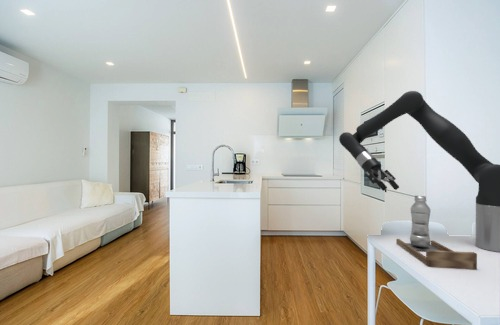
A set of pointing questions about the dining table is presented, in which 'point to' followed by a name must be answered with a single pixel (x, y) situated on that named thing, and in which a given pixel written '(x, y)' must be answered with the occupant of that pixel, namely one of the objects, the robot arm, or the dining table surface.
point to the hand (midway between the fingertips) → (391, 189)
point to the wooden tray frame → (441, 256)
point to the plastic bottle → (420, 222)
